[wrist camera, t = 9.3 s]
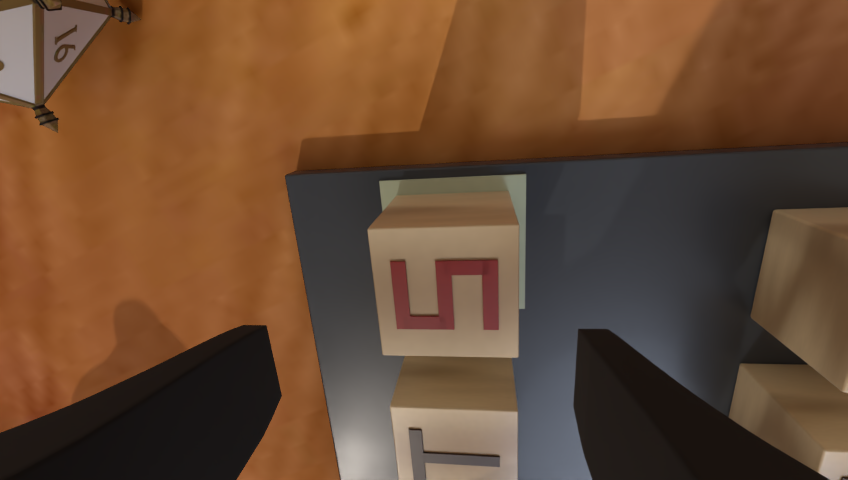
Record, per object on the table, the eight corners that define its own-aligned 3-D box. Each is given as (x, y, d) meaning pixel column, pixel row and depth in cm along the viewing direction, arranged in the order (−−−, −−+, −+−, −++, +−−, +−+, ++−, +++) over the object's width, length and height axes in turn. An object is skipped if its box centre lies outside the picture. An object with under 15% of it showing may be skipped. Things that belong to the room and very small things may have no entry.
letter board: (823, 586, 20) (933, 744, 15) (359, 544, 24) (328, 661, 19) (990, 134, 13) (1298, 155, 8) (294, 170, 17) (216, 201, 12)
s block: (509, 294, 16) (519, 359, 12) (405, 295, 17) (381, 357, 13) (509, 190, 15) (519, 224, 11) (396, 195, 15) (366, 229, 11)
